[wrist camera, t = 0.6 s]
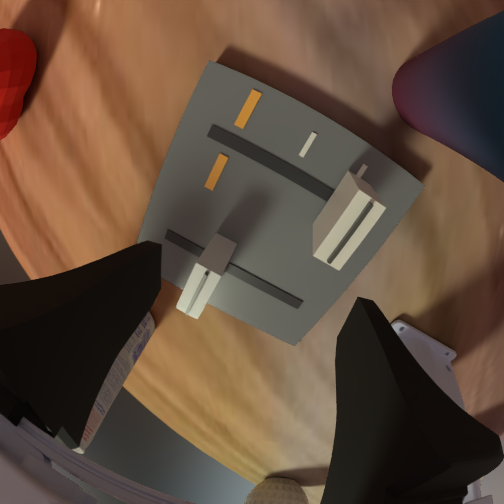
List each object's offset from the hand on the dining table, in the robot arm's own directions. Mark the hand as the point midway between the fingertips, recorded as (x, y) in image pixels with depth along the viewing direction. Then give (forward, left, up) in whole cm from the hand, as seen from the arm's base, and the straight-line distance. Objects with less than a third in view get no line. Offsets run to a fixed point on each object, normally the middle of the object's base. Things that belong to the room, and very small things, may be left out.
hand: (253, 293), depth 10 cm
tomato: (+28, 0, -11) cm, 30 cm away
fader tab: (-3, -2, -9) cm, 9 cm away
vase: (-29, +48, -11) cm, 57 cm away
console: (0, +2, -10) cm, 10 cm away
